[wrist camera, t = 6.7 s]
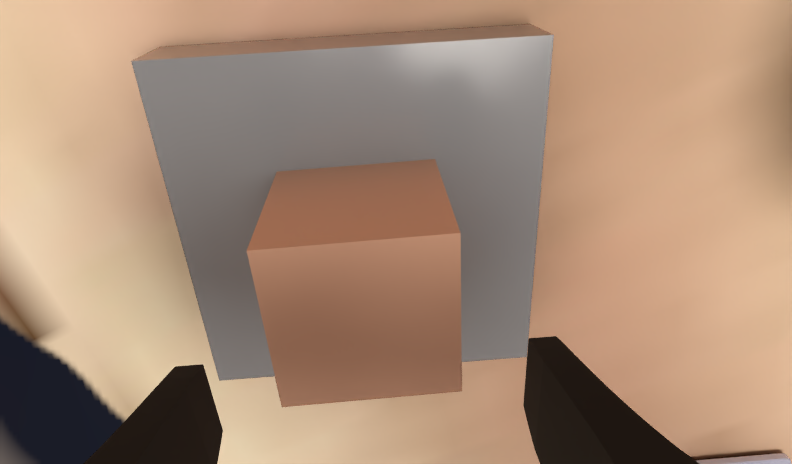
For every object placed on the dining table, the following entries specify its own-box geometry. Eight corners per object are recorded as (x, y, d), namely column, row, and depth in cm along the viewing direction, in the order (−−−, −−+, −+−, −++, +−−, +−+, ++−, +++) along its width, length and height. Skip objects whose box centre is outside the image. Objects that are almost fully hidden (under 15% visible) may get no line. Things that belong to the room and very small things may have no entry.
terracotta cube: (439, 289, 19) (462, 391, 15) (300, 301, 19) (281, 406, 15) (434, 159, 17) (460, 233, 13) (276, 171, 17) (246, 250, 12)
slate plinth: (508, 311, 24) (526, 357, 21) (235, 331, 23) (219, 380, 21) (525, 21, 18) (553, 34, 15) (165, 44, 18) (131, 61, 15)
